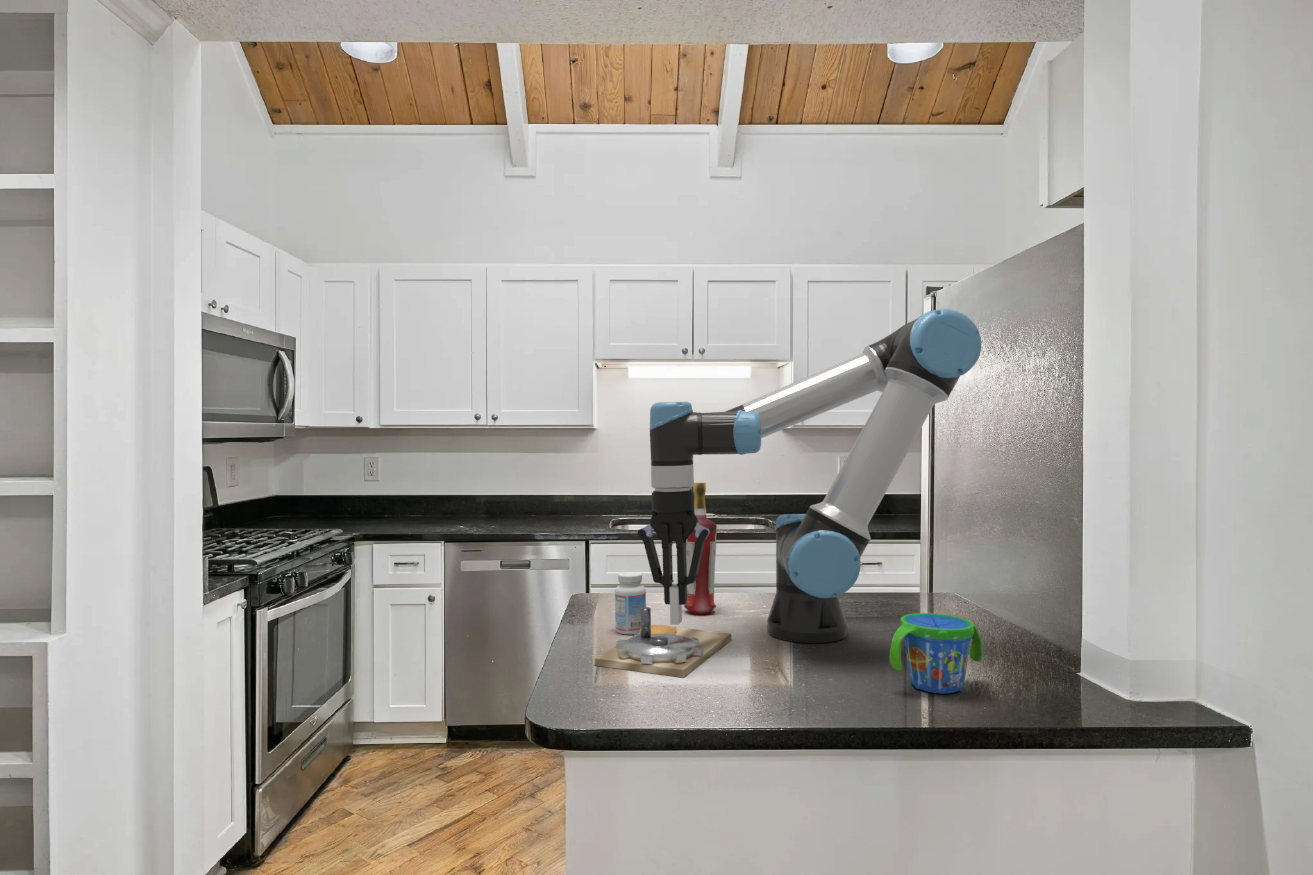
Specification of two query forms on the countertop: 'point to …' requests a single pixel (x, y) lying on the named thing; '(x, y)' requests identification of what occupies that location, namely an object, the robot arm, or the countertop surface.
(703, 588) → the liquor
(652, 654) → the sprocket disc
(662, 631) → the seat pad
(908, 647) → the snack cup
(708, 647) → the board
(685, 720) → the countertop surface
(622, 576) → the pill bottle
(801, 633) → the robot arm
